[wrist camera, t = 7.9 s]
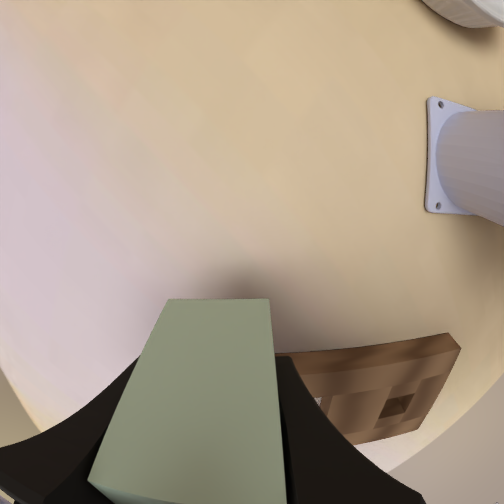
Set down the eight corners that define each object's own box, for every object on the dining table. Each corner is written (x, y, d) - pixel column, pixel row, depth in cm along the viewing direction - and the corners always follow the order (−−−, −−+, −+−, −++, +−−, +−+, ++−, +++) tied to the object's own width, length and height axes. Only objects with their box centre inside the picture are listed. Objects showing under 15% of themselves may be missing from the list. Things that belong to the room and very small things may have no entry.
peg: (268, 298, 11) (287, 507, 3) (268, 371, 12) (276, 537, 5) (168, 299, 11) (87, 480, 4) (183, 370, 12) (145, 525, 5)
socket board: (448, 332, 20) (461, 348, 18) (410, 414, 25) (417, 429, 22) (198, 353, 21) (193, 375, 18) (215, 435, 25) (213, 453, 23)
